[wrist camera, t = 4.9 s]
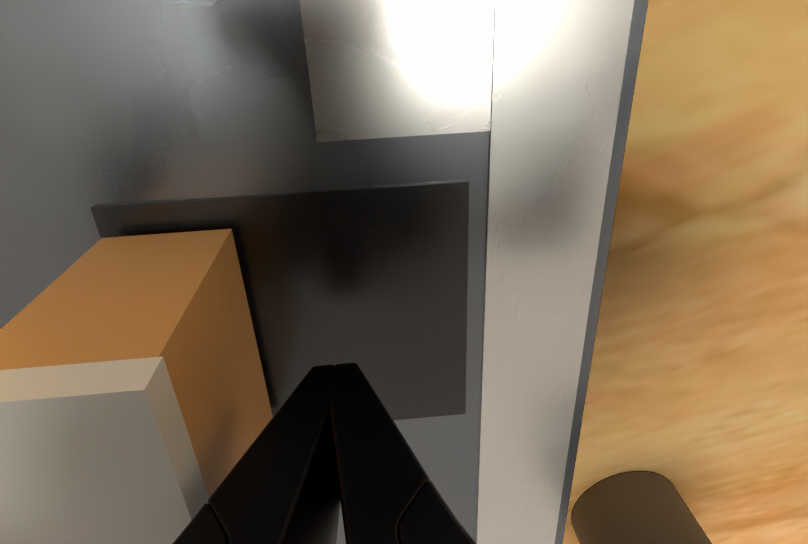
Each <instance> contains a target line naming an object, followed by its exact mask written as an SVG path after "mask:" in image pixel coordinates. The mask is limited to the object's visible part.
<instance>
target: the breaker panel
mask: <svg viewBox="0 0 808 544" xmlns="http://www.w3.org/2000/svg"><path fill="white" fill-rule="evenodd" d="M647 5H648V0H0V329H1V328H3V327H4V326H5V325H6V324H7V323H8V322H9V321H10V320H11V319H13V318H14V317H15V316H16V315H17V314H18V313H19V312H20V311H21V310H23V309H24V308H25V307H26V306H27V305H28V304H29V303H30V302H31V301H33V300H34V299H35V298H36V297H37V296H38V295H39V294H40V293H41V292H43V291H44V290H45V289H46V288H47V287H48V286H49V285H50V284H51V283H53V282H54V281H55V280H56V279H57V278H58V277H59V276H60V275H61V274H62V273H64V272H65V271H66V270H67V269H68V268H69V267H70V266H71V265H72V264H74V263H75V262H76V261H77V260H78V259H79V258H80V257H81V256H82V255H84V254H85V253H86V252H87V251H88V250H89V249H90V248H91V247H92V246H94V245H95V244H96V243H97V242H98V241H99V240H100V239H101V238H109V237H123V236H137V235H151V234H165V233H179V232H192V231H206V230H220V229H232V233H233V237H234V242H235V247H236V251H237V256H238V260H239V265H240V269H241V274H242V279H243V283H244V288H245V292H246V297H247V301H248V306H249V310H250V315H251V320H252V324H253V329H254V333H255V338H256V342H257V347H258V351H259V356H260V361H261V365H262V370H263V374H264V379H265V383H266V388H267V393H268V397H269V402H270V406H271V411H272V415H273V416H274V415H275V414H276V413H277V411H278V410H279V409H280V408H281V406H282V405H283V404H284V402H285V401H286V400H287V399H288V397H289V396H290V395H291V394H292V392H293V391H294V390H295V388H296V387H297V386H298V385H299V383H300V382H301V381H302V380H303V378H304V377H305V376H306V374H307V373H308V372H309V371H310V369H311V368H312V367H314V366H320V365H336V364H343V363H356V364H357V365H358V366H359V367H360V369H361V371H362V372H363V374H364V375H365V377H366V378H367V380H368V382H369V383H370V385H371V386H372V388H373V389H374V391H375V393H376V394H377V396H378V397H379V399H380V400H381V402H382V404H383V405H384V407H385V408H386V410H387V411H388V413H389V415H390V416H391V418H392V419H393V421H394V422H395V424H396V426H397V427H398V429H399V430H400V432H401V433H402V435H403V437H404V438H405V440H406V441H407V443H408V444H409V446H410V448H411V449H412V451H413V452H414V454H415V455H416V457H417V459H418V460H419V462H420V463H421V465H422V467H423V468H424V470H425V471H426V473H427V474H428V476H429V478H430V481H432V482H433V483H434V485H435V487H436V488H437V490H438V491H439V493H440V494H441V496H442V498H443V499H444V500H445V502H446V503H447V505H448V506H449V508H450V509H451V511H452V512H453V513H454V515H455V516H456V518H457V519H458V521H459V522H460V523H461V525H462V526H463V527H464V528H465V530H466V531H467V532H468V533H469V535H470V536H471V537H472V538H473V540H474V541H475V542H476V543H477V544H562V543H563V537H564V530H565V524H566V518H567V511H568V505H569V499H570V492H571V486H572V480H573V473H574V467H575V461H576V454H577V448H578V442H579V435H580V429H581V423H582V416H583V410H584V404H585V397H586V391H587V385H588V378H589V372H590V366H591V359H592V353H593V347H594V341H595V334H596V328H597V322H598V315H599V309H600V303H601V296H602V290H603V284H604V277H605V271H606V265H607V258H608V252H609V246H610V239H611V233H612V227H613V220H614V214H615V208H616V201H617V195H618V189H619V182H620V176H621V170H622V163H623V157H624V151H625V144H626V138H627V132H628V125H629V119H630V113H631V106H632V100H633V94H634V87H635V81H636V75H637V68H638V62H639V56H640V50H641V43H642V37H643V31H644V24H645V18H646V12H647ZM336 544H346V541H345V533H344V525H343V517H342V509H341V504H340V513H339V522H338V531H337V540H336Z"/></svg>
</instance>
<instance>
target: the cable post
mask: <svg viewBox="0 0 808 544" xmlns="http://www.w3.org/2000/svg"><path fill="white" fill-rule="evenodd" d="M571 521H572V525H573V528H574V530H575V533H576V535H577V537H578V540H579V542H580V544H712V543H711V542H710V540H709V539H708V537H707V536H706V534H705V533H704V531H703V530H702V528H701V527H700V525H699V524H698V522H697V521H696V519H695V518H694V516H693V515H692V513H691V512H690V510H689V508H688V507H687V505H686V504H685V502H684V501H683V499H682V498H681V496H680V495H679V493H678V492H677V490H676V489H675V487H674V486H673V484H672V483H671V482H670V481H669V480H668V479H667V478H665V477H663V476H661V475H659V474H656V473H652V472H644V471H635V472H627V473H622V474H618V475H615V476H612V477H609V478H607V479H604V480H602V481H600V482H599V483H597V484H595V485H594V486H592V487H591V488H590V489H588V490H587V491H586V492H585V493H584V494H583V495H582V496H581V497H580V498H579V499H578V501H577V502H576V504H575V506H574V508H573V511H572V516H571Z"/></svg>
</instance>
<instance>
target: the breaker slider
mask: <svg viewBox="0 0 808 544" xmlns="http://www.w3.org/2000/svg"><path fill="white" fill-rule="evenodd" d="M272 418H273V415H272V411H271V406H270V402H269V397H268V393H267V388H266V383H265V379H264V374H263V370H262V365H261V361H260V356H259V351H258V347H257V342H256V338H255V333H254V329H253V324H252V320H251V315H250V310H249V306H248V301H247V297H246V292H245V288H244V283H243V279H242V274H241V269H240V265H239V260H238V256H237V251H236V247H235V242H234V237H233V233H232V229H220V230H206V231H192V232H179V233H165V234H151V235H137V236H123V237H109V238H101V239H100V240H99V241H98V242H97V243H96V244H95V245H94V246H92V247H91V248H90V249H89V250H88V251H87V252H86V253H85V254H84V255H82V256H81V257H80V258H79V259H78V260H77V261H76V262H75V263H74V264H72V265H71V266H70V267H69V268H68V269H67V270H66V271H65V272H64V273H62V274H61V275H60V276H59V277H58V278H57V279H56V280H55V281H54V282H53V283H51V284H50V285H49V286H48V287H47V288H46V289H45V290H44V291H43V292H41V293H40V294H39V295H38V296H37V297H36V298H35V299H34V300H33V301H31V302H30V303H29V304H28V305H27V306H26V307H25V308H24V309H23V310H21V311H20V312H19V313H18V314H17V315H16V316H15V317H14V318H13V319H11V320H10V321H9V322H8V323H7V324H6V325H5V326H4V327H3V328H1V329H0V544H172V543H173V542H174V541H175V540H176V539H177V537H178V536H179V535H180V534H181V533H182V531H183V530H184V529H185V528H186V527H187V525H188V524H189V523H190V522H191V520H192V519H193V518H194V517H195V515H196V514H197V513H198V512H199V510H200V509H201V508H202V506H203V505H204V504H206V503H208V499H209V498H210V497H211V495H212V494H213V493H214V491H215V490H216V489H217V488H218V486H219V485H220V484H221V483H222V481H223V480H224V479H225V478H226V476H227V475H228V474H229V472H230V471H231V470H232V469H233V467H234V466H235V465H236V464H237V462H238V461H239V460H240V458H241V457H242V456H243V455H244V453H245V452H246V451H247V450H248V448H249V447H250V446H251V444H252V443H253V442H254V441H255V439H256V438H257V437H258V436H259V434H260V433H261V432H262V430H263V429H264V428H265V427H266V425H267V424H268V423H269V422H270V420H271V419H272Z"/></svg>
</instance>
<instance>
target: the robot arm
mask: <svg viewBox="0 0 808 544" xmlns="http://www.w3.org/2000/svg"><path fill="white" fill-rule="evenodd" d="M340 504H341V509H342V517H343V525H344V533H345V541H346V544H477V543H476V542H475V541H474V540H473V538H472V537H471V536H470V535H469V533H468V532H467V531H466V530H465V528H464V527H463V526H462V525H461V523H460V522H459V521H458V519H457V518H456V516H455V515H454V513H453V512H452V511H451V509H450V508H449V506H448V505H447V503H446V502H445V500H444V499H443V498H442V496H441V494H440V493H439V491H438V490H437V488H436V487H435V485H434V483H433V482H432V481H430V478H429V476H428V474H427V473H426V471H425V470H424V468H423V467H422V465H421V463H420V462H419V460H418V459H417V457H416V455H415V454H414V452H413V451H412V449H411V448H410V446H409V444H408V443H407V441H406V440H405V438H404V437H403V435H402V433H401V432H400V430H399V429H398V427H397V426H396V424H395V422H394V421H393V419H392V418H391V416H390V415H389V413H388V411H387V410H386V408H385V407H384V405H383V404H382V402H381V400H380V399H379V397H378V396H377V394H376V393H375V391H374V389H373V388H372V386H371V385H370V383H369V382H368V380H367V378H366V377H365V375H364V374H363V372H362V371H361V369H360V367H359V366H358V365H357V364H356V363H343V364H336V365H320V366H314V367H312V368H311V369H310V371H309V372H308V373H307V374H306V376H305V377H304V378H303V380H302V381H301V382H300V383H299V385H298V386H297V387H296V388H295V390H294V391H293V392H292V394H291V395H290V396H289V397H288V399H287V400H286V401H285V402H284V404H283V405H282V406H281V408H280V409H279V410H278V411H277V413H276V414H275V415H274V416H273V418H272V419H271V420H270V422H269V423H268V424H267V425H266V427H265V428H264V429H263V430H262V432H261V433H260V434H259V436H258V437H257V438H256V439H255V441H254V442H253V443H252V444H251V446H250V447H249V448H248V450H247V451H246V452H245V453H244V455H243V456H242V457H241V458H240V460H239V461H238V462H237V464H236V465H235V466H234V467H233V469H232V470H231V471H230V472H229V474H228V475H227V476H226V478H225V479H224V480H223V481H222V483H221V484H220V485H219V486H218V488H217V489H216V490H215V491H214V493H213V494H212V495H211V497H210V498H209V499H208V503H206V504H204V505H203V506H202V508H201V509H200V510H199V512H198V513H197V514H196V515H195V517H194V518H193V519H192V520H191V522H190V523H189V524H188V525H187V527H186V528H185V529H184V530H183V531H182V533H181V534H180V535H179V536H178V537H177V539H176V540H175V541H174V542H173V543H172V544H336V540H337V531H338V522H339V513H340Z"/></svg>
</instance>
